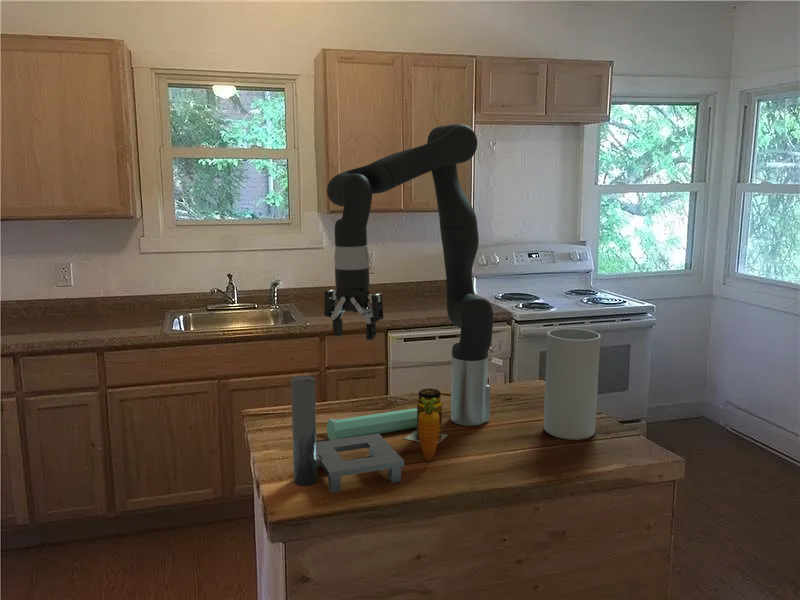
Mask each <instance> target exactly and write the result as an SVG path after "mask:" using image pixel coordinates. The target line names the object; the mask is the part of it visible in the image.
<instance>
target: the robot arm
mask: <svg viewBox="0 0 800 600" xmlns="http://www.w3.org/2000/svg"><path fill="white" fill-rule="evenodd" d="M426 141H427V143H425V144H422V145H419V146H416V147H415V146H414V147H413V148H408V149H405V150H402V151H398V152H394V153H392V154H389V155H387V156H384V157H381V158H379V159H378V160H375V161H373V162H371V163H369V164H367V165H363V166H359V167H355V168H353V169H349V170H346V171H343V172H341V173H338V174H336V175H334V176H333V177H332V178H331V179H330V180H329V181H328V184H327V187H326V194H327V197H328V199H329V201H331V203H332V204H334V205H336V206H338V207H343V209H342V210H343V211H342V217H341V218H339V219H337V220H336V221H335V223H334V246H335V247H334V281H335V282H334V283H335V287H336V290H335V289H334V288H331V289H328V290H325V291H324V312H323V313H324V316H325V317H328V318H330V319H331V320H332V331H333V334H334V336H335V337H340V336H342V335H343V333H344V331H343V318H342V316H343V315H344V313H345V312H352V313H359V315H360V316H361V317H363V319H364V320H365V323H366V324H365V332H366V335H365V337H366V340H367V341H371V340H374V339H375V337H376V335H377V329H376V327H377V324H376V323H377V322H379V321H381V320H383V319H384V307H383V306H384V305H383V304H384V303H383V295H382V293H381V292H378V293H370V290H369V287H370V258H369V250H368V231H367V230H368V229H367V226H368V221H369V218H370V212H371V206H372V201H373V195H374V194H382V193H386V192H388V191H389V190H390V191H391V190H393V189H395V188H397V187H399V186H401V185H403V184H406V183H407V182H410V181H412V180H414V179H416V178H418V177H420V176H422V175H425V174H428V173H429V172H431V174H432V178H433V183H434V190H435V197H436V204H437V211H438V216H439V217H438V218H439V229H440V231H439V232H440V237H441V245H442V253H443V261H444V269H445V279H446V312H447V316H448V319H449V321H450V322H451V323H452V325H453V326H455V327H456V328H459V329H460V336H459V337H460V338H459V342H455V343H454V344H453V345H452V346H451V388H450V389H451V393H450V394H451V396H450V397H451V399H450V420H451V422H453V423H454V424H457V425H460V426H469V427H470V426H471V427H473V426H481V425H482V424H484V423H487V422H490V413H491V412H490V409H491V408H490V407H491V386H490V385H489V384H488V364H489V363H488V362H489V361H488V360H489V358H488V357H489V351H490V348H491V345H492V342H493V341H492V339H493V328H494V327H493V326H494V310H493V306H492V304H491V302H490V301H489V300H488V299H486V298H484V297H483V296H479V295H477V294H475V292H474V286H473V284H474V283H473V276H472V275H473V274H472V273H473V266H474V264H475V259H476V256H477V254H478V253H477V252H478V249H479V241H480V240H479V229H478V221H477V216H476V212H475V210H474V208H473V206H472V204H471V202H470V201H469V199H468V197H467V196H466V194H465V192H464V190H463V188H462V186H461V183H460V180H459V176H458V174H459V173H458V168H457V166H458V165H457V164H459V165H460V164H462V163H465V162H468V161H469V160H471V158H473V157H474V156H475V154H476V152H477V148H478V137H477V134H476V133H475V130H474V129H473V128H472V127H471V126H469V125H466V124H463V123H454V124H446V125H440V126H436V127H435V128H433V129H431V131H430V132H429V134H428V136H427V140H426ZM336 300H337V301H338V303H337V304H336ZM369 302H370V304H371V305H370V304H369Z"/></svg>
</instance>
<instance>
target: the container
mask: <svg viewBox="0 0 800 600" xmlns="http://www.w3.org/2000/svg"><path fill="white" fill-rule="evenodd" d="M415 428H416V429H417V407H416V408H408V409H401V410H396V411H395V410H394V411H389V412H381V413H375V414H373V413H372V414H368V415H367V414H366V415H360V416H354V417H348V418H346V417H345V418H340V419H334V418H329V419H328V421H327V422H326V433H327V437H328V441H329V440H336V439H343V438H350V437H357V436H364V435H371V434H380V435H382V434H389V433H393V432H399V431H405V430H411V429H415Z"/></svg>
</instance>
